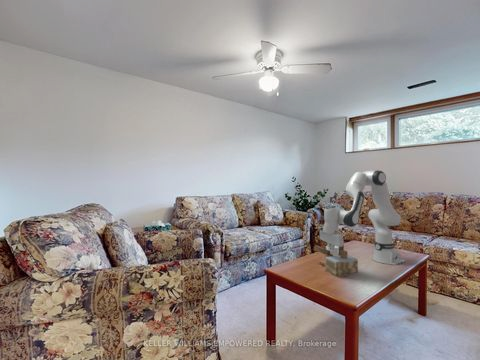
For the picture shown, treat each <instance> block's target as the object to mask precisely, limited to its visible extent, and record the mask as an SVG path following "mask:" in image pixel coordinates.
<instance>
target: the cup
mask: <svg viewBox="0 0 480 360" xmlns="http://www.w3.org/2000/svg"><path fill="white" fill-rule="evenodd" d="M331 246H332V245H331ZM325 249H327V250H329V251H330V254H332V255H333V256H338V254H339V247H338V246H335V247H334V250H330V249H329V246H328V244H327V245H326V246H325Z"/></svg>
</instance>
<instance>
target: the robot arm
mask: <svg viewBox="0 0 480 360" xmlns="http://www.w3.org/2000/svg"><path fill="white" fill-rule="evenodd" d="M386 180H387V177H386V174H385V173H384V171H382V170H379V169H378V170H367V171H366V170H365V171H357V172H355V173H354V174H353V175H352V176H351V178H350V179H349V180H348V183H347V185H346V186H345V191H346V192H345V193H346V194H347V195H348V196H349V197H350V198H352V199H353V202H352V205H351V209H350V210H343V209H341V208H338V207H337V206H336V205H328V206H326V207H324V211H323V220H324V224H323V226H319V239H320V240H321V241H323V242H326V243H327V245H328V246H329V249H330V250H334V247H335V245H336V246H338V247H342V246H343V245H344V236H343V234H341V233H342V232H339V224H340V225H344V226H348V227H350V228H354V227H355V226H357V225H358V224H359V222H360V214H361V210H362V207H363V204H364V201H365V195H364V190H365V188H366V186H368V187H370V189H371V197H372V202H373V204H374V205H375V206H376V208H372V209H370V210H369V211H368V213H367V217H368V219H369V220H370V221H371V223H372V226H373V229H374V234H375V235H374V236H375V237H374V239H375V240H374V248H373V255H372V260H373V261H375V262H376V263H381V264H385V265H387V264H388V265H393V266H396V265H399V264H402V263H405V262H406V260H405V259H404V258H402V255H401V253H400V252H399V250H397V249H396V248H395V247H397V243H394V242H393V232H392V230H391V229H390V228H389V227H396V226H399V225H400V224H401V221H402V217H401V215H400V214H399V213H398V212H397V211H396V210H395V208H394V206H393V204H392V202H391V198H390V193H389V188H388V184H387V182H386ZM331 245H332V246H331ZM404 261H405V262H404ZM401 262H402V263H401ZM398 263H399V264H398Z"/></svg>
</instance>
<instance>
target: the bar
mask: <svg viewBox="0 0 480 360" xmlns="http://www.w3.org/2000/svg"><path fill="white" fill-rule="evenodd" d="M313 250H314V251H317V252H319V253H321V254H322V255H325V256H326V255H328V256H330V251H329V250H327V249H326V248H324V247H322V246H319V245H317V244H316V245H313Z"/></svg>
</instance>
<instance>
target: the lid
mask: <svg viewBox="0 0 480 360" xmlns="http://www.w3.org/2000/svg"><path fill="white" fill-rule="evenodd" d="M325 259H327V260H329V261H331V262H333V263H335V264H338V262H340V261H344V262H352V261H358V262H359V259H358V258H356V257H353V256H351V255H348V251H347V250H345V249H344V250H342V251H340V255H339V256H332V257H326V256H325Z"/></svg>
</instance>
